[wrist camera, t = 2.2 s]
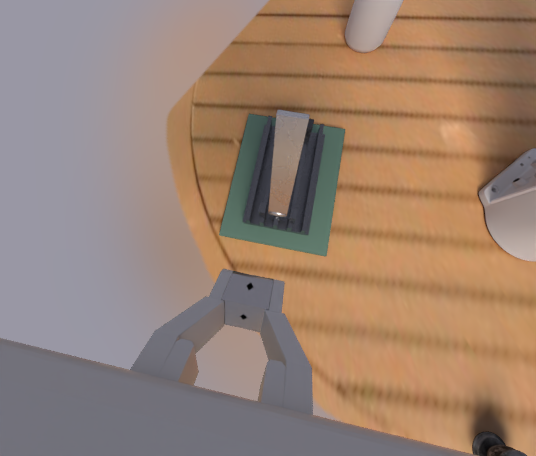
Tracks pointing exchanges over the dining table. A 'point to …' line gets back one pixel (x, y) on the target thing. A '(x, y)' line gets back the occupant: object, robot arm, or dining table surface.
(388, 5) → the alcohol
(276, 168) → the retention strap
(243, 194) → the circuit board
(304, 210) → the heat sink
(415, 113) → the dining table surface
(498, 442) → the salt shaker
